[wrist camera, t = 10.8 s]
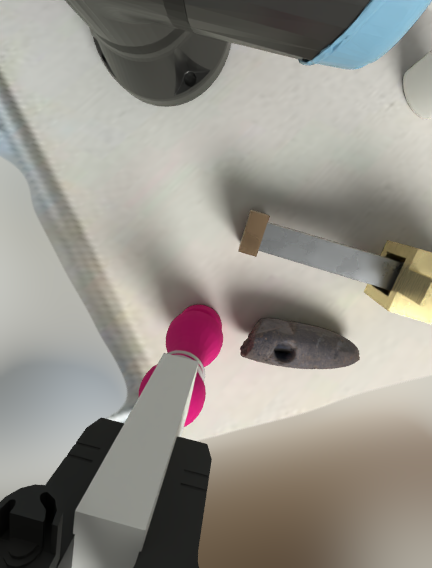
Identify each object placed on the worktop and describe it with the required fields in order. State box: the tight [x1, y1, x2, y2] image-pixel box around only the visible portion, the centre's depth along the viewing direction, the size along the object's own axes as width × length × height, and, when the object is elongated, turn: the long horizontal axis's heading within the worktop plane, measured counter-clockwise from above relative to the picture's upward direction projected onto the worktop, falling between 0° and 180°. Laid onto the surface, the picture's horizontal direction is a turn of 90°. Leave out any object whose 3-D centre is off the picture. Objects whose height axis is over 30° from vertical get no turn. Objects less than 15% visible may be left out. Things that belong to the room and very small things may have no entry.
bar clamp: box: [239, 210, 404, 290], centre depth 34 cm, size 30×4×7 cm, turn 74°
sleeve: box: [364, 240, 432, 324], centre depth 30 cm, size 5×7×11 cm
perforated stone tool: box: [240, 318, 360, 369], centre depth 38 cm, size 15×5×7 cm, turn 81°
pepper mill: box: [139, 305, 223, 427], centre depth 33 cm, size 7×7×20 cm
